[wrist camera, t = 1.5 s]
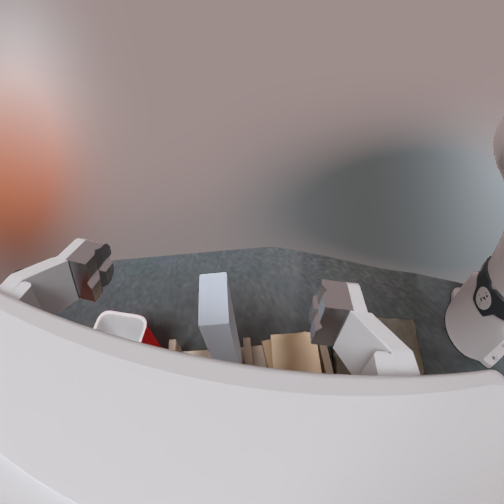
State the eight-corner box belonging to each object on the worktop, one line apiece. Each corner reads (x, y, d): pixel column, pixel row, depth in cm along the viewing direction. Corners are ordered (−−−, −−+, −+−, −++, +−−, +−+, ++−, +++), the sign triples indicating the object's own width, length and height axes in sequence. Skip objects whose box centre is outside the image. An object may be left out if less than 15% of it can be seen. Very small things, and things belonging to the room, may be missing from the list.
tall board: (243, 360, 40) (226, 272, 26) (246, 394, 36) (229, 323, 22) (226, 361, 40) (199, 274, 26) (228, 395, 36) (198, 325, 22)
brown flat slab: (328, 312, 48) (332, 297, 45) (404, 314, 46) (412, 300, 43) (328, 404, 36) (334, 397, 33) (417, 399, 34) (429, 391, 31)
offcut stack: (308, 342, 42) (313, 323, 38) (319, 392, 36) (327, 379, 32) (261, 349, 41) (260, 330, 37) (268, 400, 36) (268, 388, 31)
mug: (171, 351, 43) (150, 316, 36) (159, 397, 37) (131, 371, 30) (111, 340, 45) (83, 305, 37) (97, 380, 39) (62, 351, 31)
